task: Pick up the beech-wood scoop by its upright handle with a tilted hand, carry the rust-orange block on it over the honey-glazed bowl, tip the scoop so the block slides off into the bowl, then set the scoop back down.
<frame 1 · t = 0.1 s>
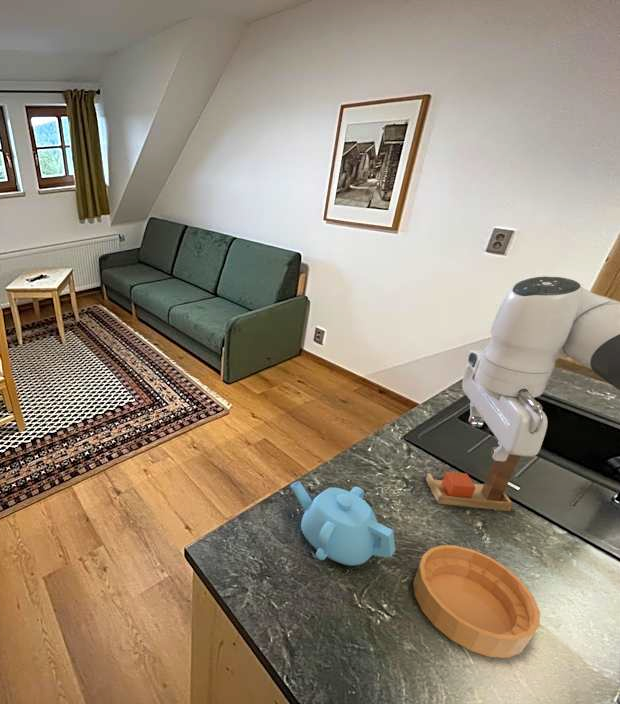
hand: (485, 440, 72), 20 cm above the counter, tool pointing down, fingers open, 8 cm apart
bowl: (466, 607, 67), on the counter
block: (455, 492, 86), point 1 cm above the counter, touching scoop
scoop: (489, 498, 85), on the counter, touching block
teapot: (333, 540, 79), on the counter
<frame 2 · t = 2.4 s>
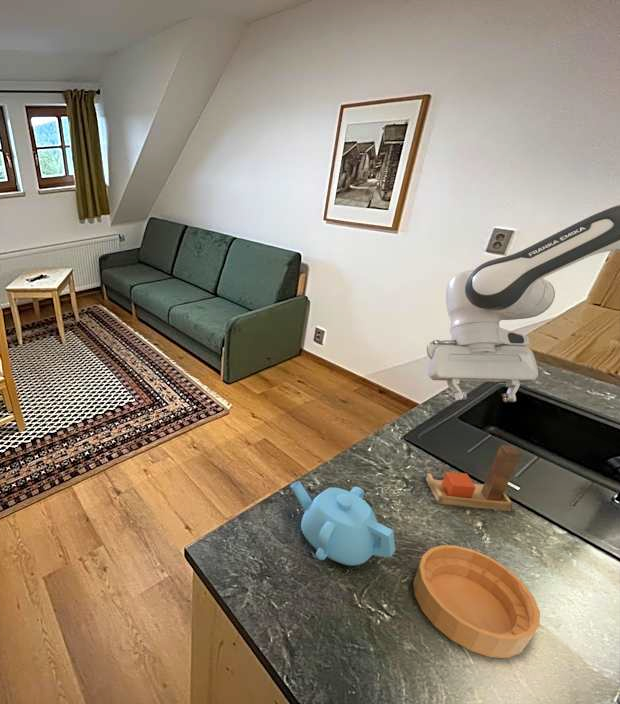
hand: (485, 401, 87), 17 cm above the counter, tool tilted 45°, fingers open, 8 cm apart
nothing on the counter moved.
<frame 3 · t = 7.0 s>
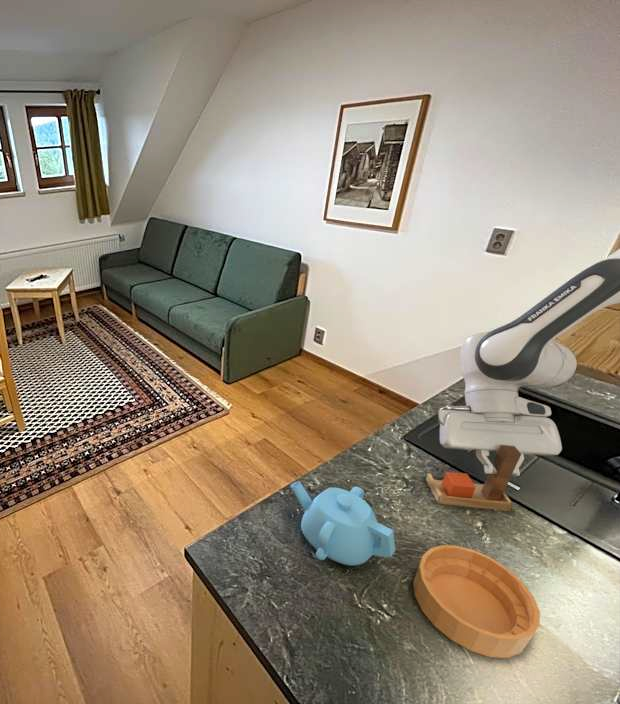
hand: (502, 474, 81), 7 cm above the counter, tool tilted 45°, fingers closed on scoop, 2 cm apart
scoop: (489, 498, 85), on the counter, touching block, gripper
everything else where it was.
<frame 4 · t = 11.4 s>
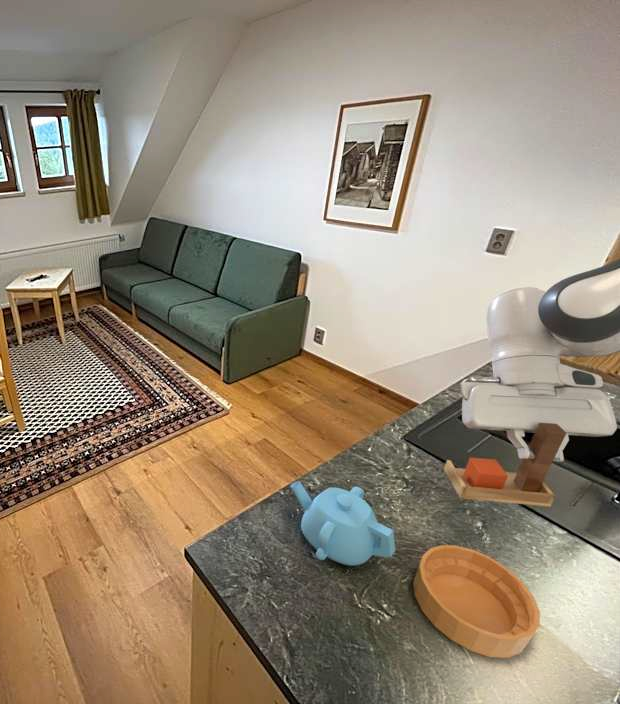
hand: (541, 460, 66), 21 cm above the counter, tool tilted 45°, fingers closed on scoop, 2 cm apart
block: (481, 483, 71), point 15 cm above the counter, touching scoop
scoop: (523, 489, 70), point 14 cm above the counter, touching block, gripper
everything else where it was.
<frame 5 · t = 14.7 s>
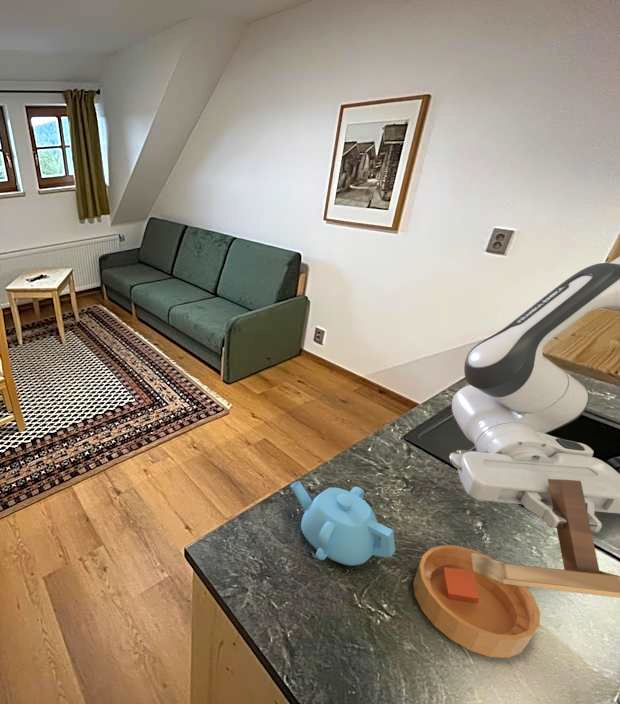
hand: (576, 527, 53), 23 cm above the counter, tool horizontal, fingers closed on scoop, 2 cm apart
block: (463, 598, 65), point 3 cm above the counter, tilted 65°, touching bowl
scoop: (585, 588, 52), point 17 cm above the counter, tilted 44°, touching gripper
everything else where it was.
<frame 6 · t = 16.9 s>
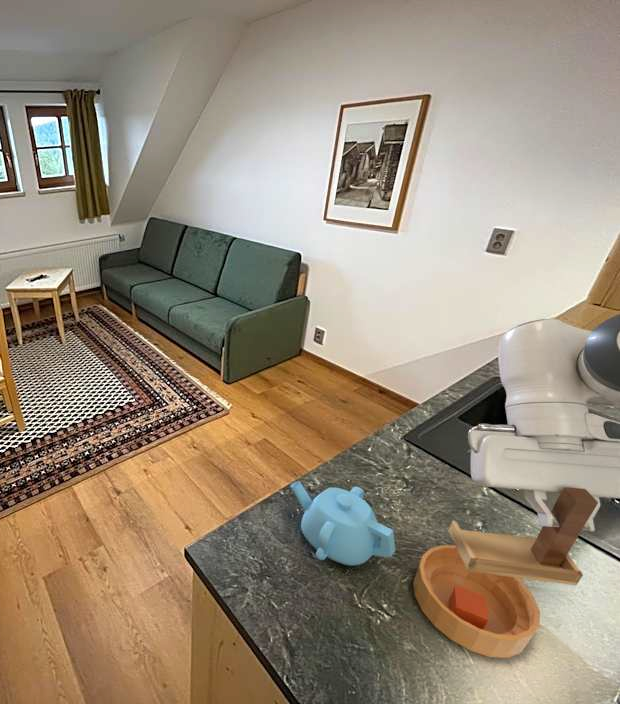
hand: (567, 528, 55), 21 cm above the counter, tool tilted 45°, fingers closed on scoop, 2 cm apart
block: (464, 616, 65), point 1 cm above the counter, touching bowl
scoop: (543, 560, 59), point 14 cm above the counter, touching gripper
everything else where it was.
when the fingers open (8 cm above the counter, at t = 25.1 s): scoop stays where it is, on the counter.
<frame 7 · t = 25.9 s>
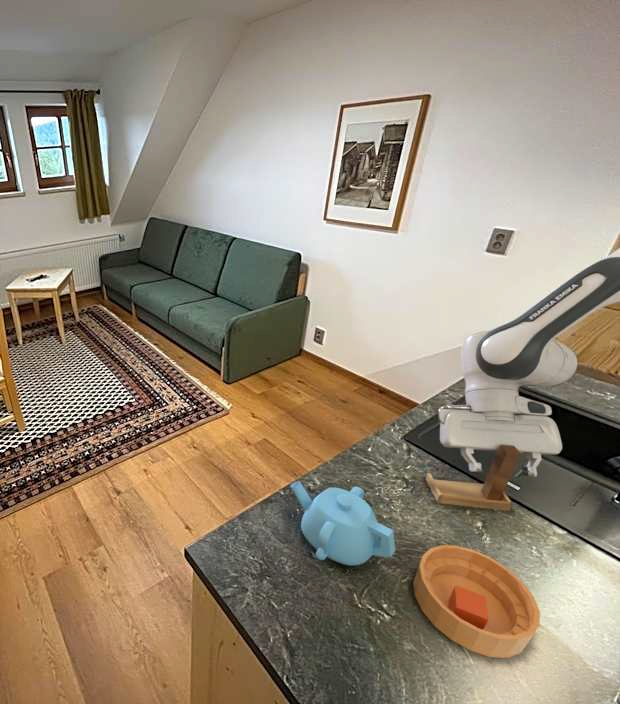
hand: (502, 473, 81), 8 cm above the counter, tool tilted 45°, fingers open, 8 cm apart
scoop: (489, 498, 85), on the counter
everything else where it was.
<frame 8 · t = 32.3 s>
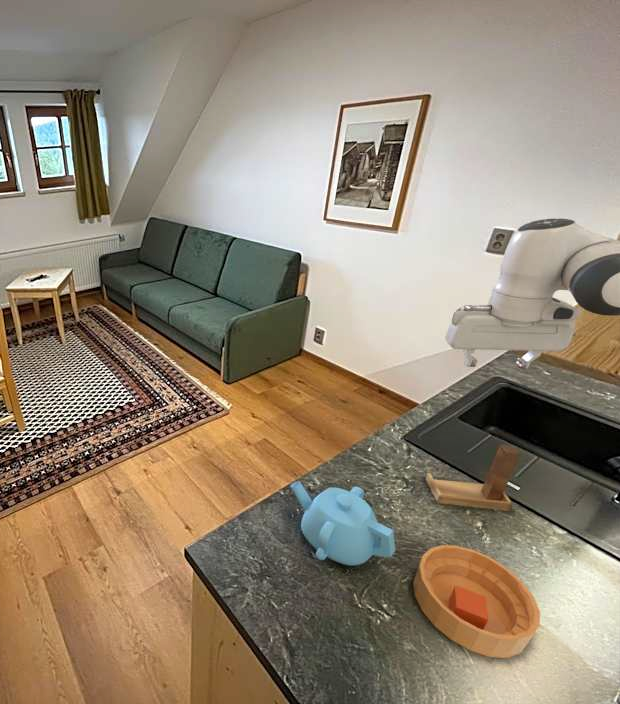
hand: (494, 366, 85), 25 cm above the counter, tool pointing down, fingers open, 8 cm apart
nothing on the counter moved.
at the end: block inside the target area in the bowl (2.4 cm from its centre), point 0.5 cm above the bowl's base; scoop tilted 0°; the gripper is holding nothing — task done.
